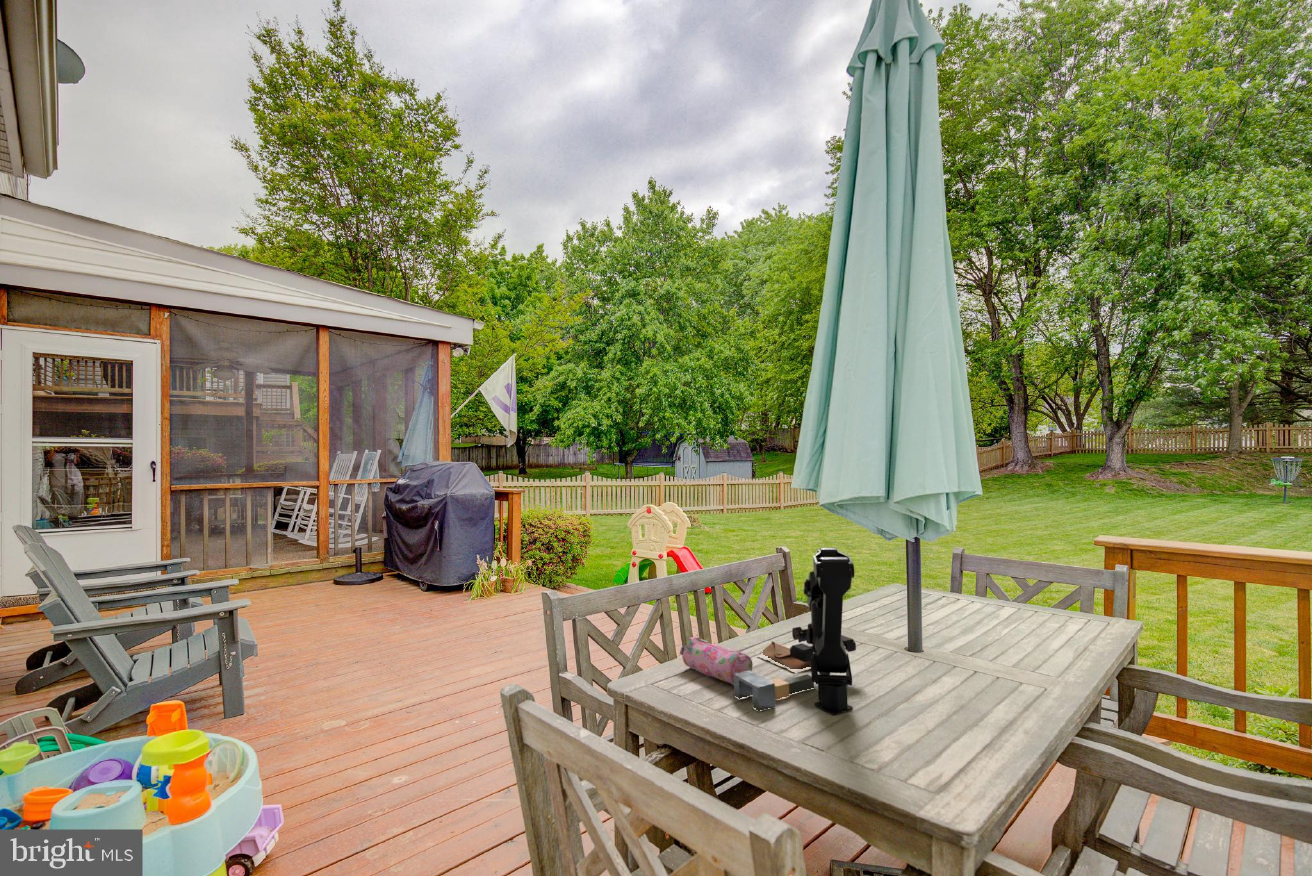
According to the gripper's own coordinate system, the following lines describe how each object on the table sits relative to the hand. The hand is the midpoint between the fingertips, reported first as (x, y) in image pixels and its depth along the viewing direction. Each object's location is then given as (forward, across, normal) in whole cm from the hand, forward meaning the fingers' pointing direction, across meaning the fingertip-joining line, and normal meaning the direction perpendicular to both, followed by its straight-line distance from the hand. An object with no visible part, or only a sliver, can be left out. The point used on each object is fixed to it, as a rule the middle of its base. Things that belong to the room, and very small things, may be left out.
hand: (824, 680), depth 149 cm
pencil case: (+1, +22, -19) cm, 29 cm away
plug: (+1, +11, 0) cm, 11 cm away
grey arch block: (+1, +23, 0) cm, 23 cm away
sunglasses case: (+2, -1, -18) cm, 18 cm away
